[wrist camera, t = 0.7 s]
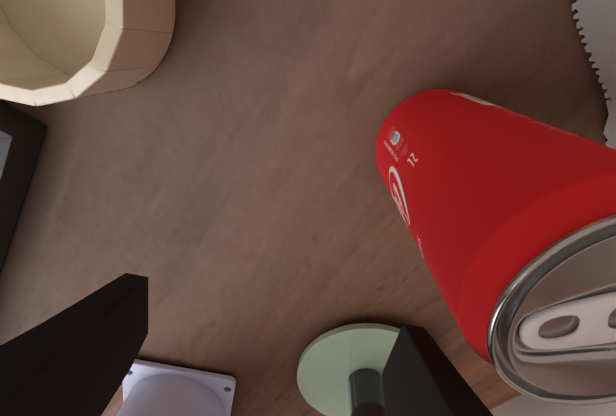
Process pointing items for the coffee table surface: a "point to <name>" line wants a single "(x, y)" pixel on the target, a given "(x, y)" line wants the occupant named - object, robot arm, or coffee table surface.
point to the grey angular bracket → (601, 50)
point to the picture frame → (15, 166)
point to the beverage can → (512, 237)
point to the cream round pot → (79, 46)
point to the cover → (347, 369)
